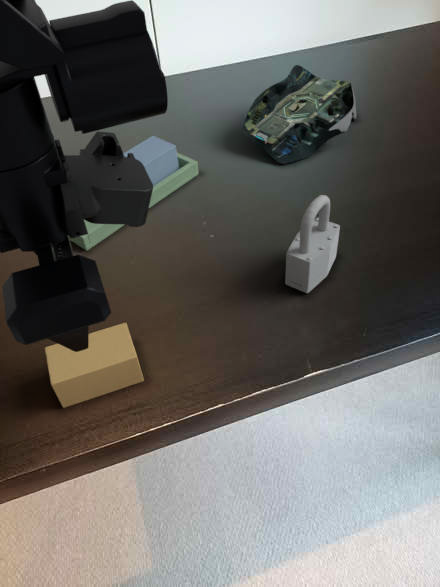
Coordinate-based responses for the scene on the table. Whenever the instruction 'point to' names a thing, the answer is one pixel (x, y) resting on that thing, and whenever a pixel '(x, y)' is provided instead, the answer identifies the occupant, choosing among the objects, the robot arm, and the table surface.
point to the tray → (160, 191)
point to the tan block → (94, 366)
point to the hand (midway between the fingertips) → (72, 309)
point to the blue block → (156, 158)
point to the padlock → (312, 247)
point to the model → (300, 115)
